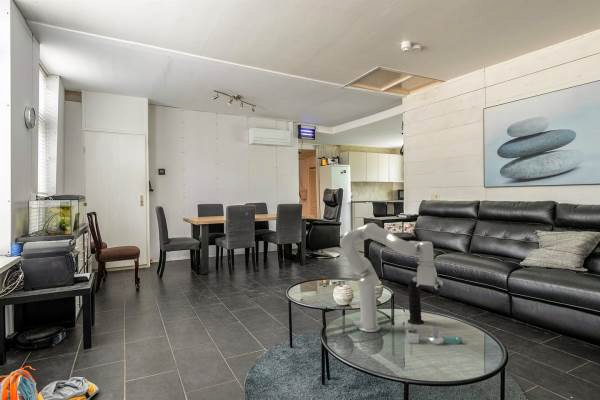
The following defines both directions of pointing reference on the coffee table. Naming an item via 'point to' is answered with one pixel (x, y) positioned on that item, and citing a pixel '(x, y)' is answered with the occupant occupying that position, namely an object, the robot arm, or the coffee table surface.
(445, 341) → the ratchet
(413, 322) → the handle grip
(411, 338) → the hollow white cube
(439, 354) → the coffee table surface
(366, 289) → the robot arm
